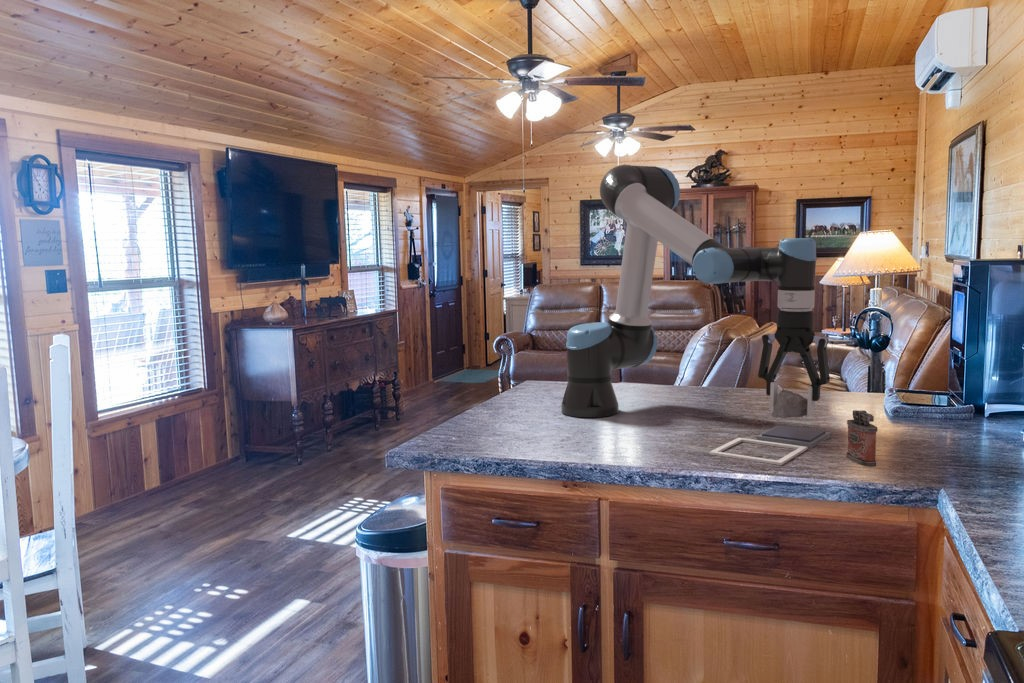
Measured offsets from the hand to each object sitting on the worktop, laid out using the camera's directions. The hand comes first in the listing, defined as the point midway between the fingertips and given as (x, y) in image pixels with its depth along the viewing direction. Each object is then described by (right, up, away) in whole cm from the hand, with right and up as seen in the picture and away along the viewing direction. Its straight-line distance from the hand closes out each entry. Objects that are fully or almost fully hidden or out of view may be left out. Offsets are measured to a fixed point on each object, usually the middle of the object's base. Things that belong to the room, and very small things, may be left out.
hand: (791, 412), depth 169 cm
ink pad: (0, -6, 0) cm, 6 cm away
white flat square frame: (-11, -7, -10) cm, 16 cm away
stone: (0, -1, 0) cm, 1 cm away
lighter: (+7, -8, -19) cm, 22 cm away
